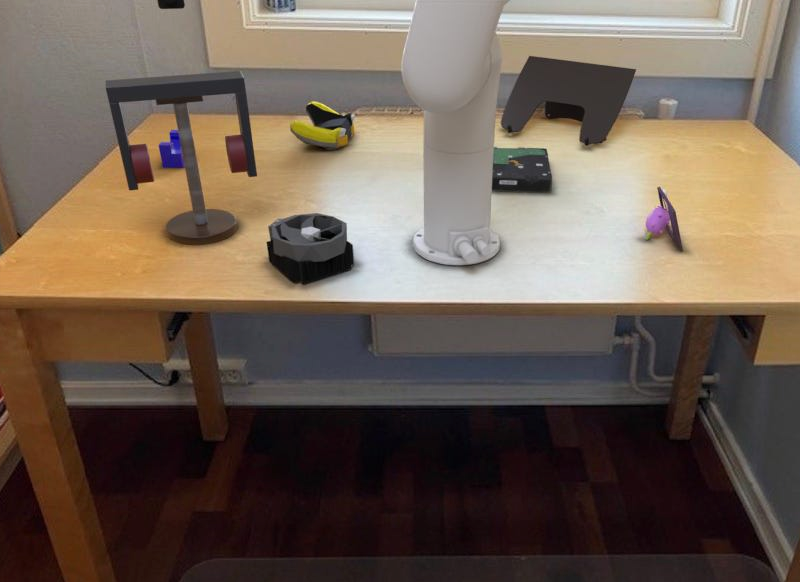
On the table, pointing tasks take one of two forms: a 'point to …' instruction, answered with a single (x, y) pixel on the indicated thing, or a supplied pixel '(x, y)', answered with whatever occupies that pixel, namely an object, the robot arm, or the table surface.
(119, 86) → the headset
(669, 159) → the table surface
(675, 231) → the purple piece
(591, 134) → the laptop tray
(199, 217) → the stand
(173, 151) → the cable holder
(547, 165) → the disk drive
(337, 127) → the gaming controller
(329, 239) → the cpu cooler
